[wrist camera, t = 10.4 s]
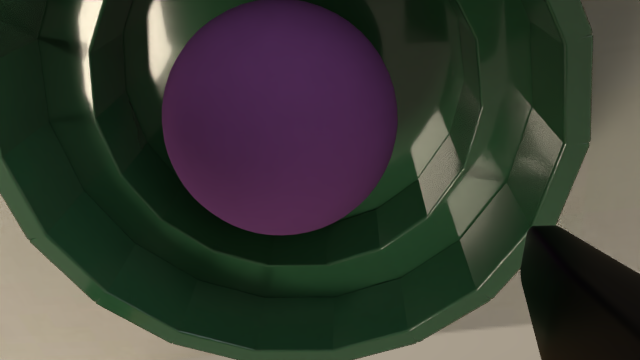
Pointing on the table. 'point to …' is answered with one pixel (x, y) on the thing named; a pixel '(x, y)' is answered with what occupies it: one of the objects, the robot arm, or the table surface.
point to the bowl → (311, 247)
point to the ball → (279, 117)
